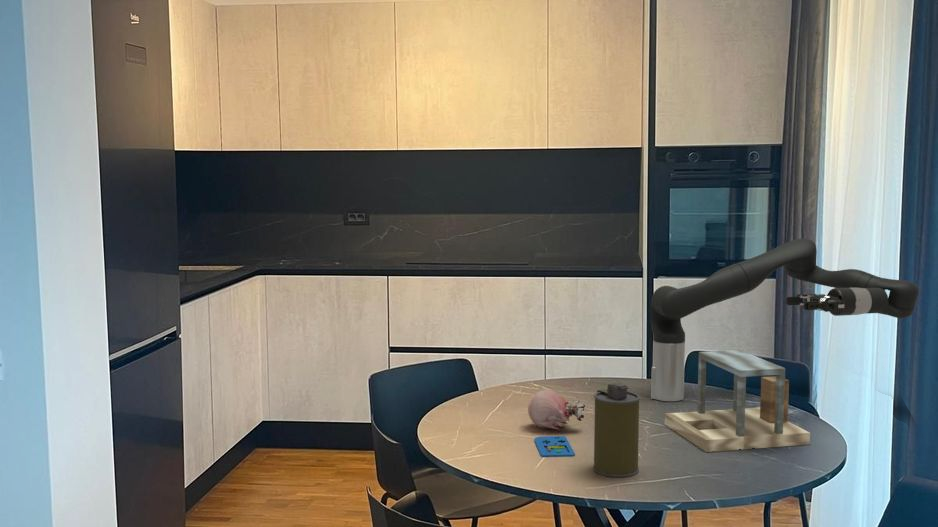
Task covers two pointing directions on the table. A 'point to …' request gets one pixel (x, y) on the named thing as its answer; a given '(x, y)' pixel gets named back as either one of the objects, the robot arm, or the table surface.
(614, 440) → the canister
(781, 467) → the table surface
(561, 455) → the handheld gaming device
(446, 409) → the table surface
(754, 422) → the tunnel deck
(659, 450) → the table surface
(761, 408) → the walnut block
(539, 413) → the toy
